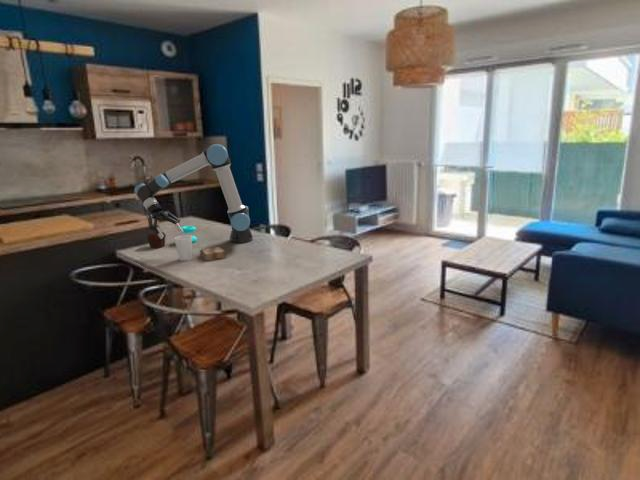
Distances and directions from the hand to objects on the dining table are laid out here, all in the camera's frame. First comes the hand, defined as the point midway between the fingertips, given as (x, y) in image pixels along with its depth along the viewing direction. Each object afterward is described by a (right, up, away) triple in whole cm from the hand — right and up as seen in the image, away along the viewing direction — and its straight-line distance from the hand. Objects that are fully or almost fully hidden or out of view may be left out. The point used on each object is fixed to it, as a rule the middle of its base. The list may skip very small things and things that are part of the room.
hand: (172, 235), depth 236 cm
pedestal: (+23, -13, +3) cm, 26 cm away
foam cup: (+8, -14, 0) cm, 16 cm away
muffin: (-19, -7, +26) cm, 33 cm away
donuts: (-2, -4, +36) cm, 37 cm away
